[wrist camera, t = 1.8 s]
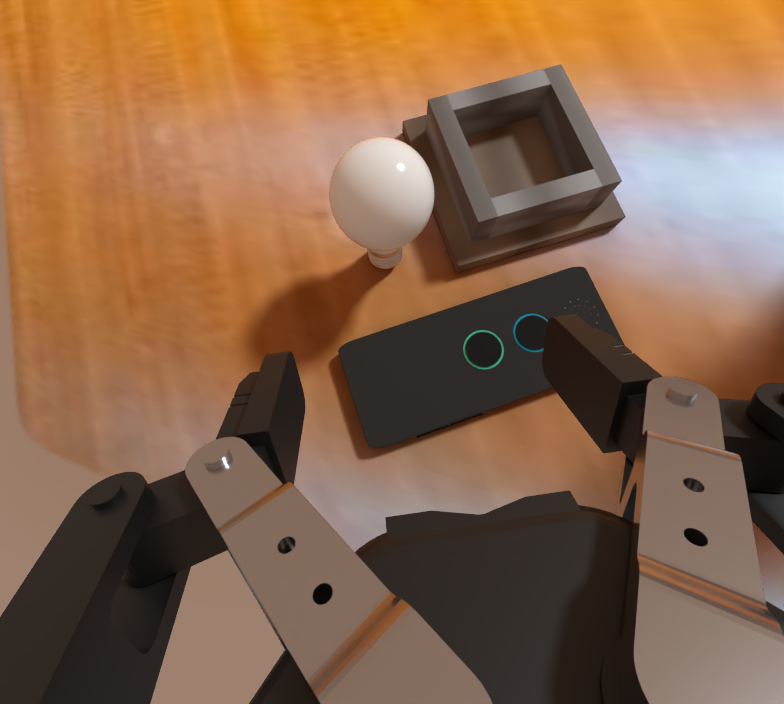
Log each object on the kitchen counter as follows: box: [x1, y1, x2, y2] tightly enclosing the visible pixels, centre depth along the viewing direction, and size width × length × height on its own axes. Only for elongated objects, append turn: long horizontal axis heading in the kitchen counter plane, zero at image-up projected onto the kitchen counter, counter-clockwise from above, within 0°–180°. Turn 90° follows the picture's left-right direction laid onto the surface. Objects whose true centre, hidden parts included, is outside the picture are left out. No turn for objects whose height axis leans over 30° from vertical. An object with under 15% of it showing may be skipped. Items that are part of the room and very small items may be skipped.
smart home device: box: [338, 267, 625, 448], centre depth 29 cm, size 8×2×20 cm
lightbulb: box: [329, 137, 435, 269], centre depth 25 cm, size 6×6×11 cm
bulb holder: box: [403, 65, 625, 273], centre depth 30 cm, size 14×14×4 cm
